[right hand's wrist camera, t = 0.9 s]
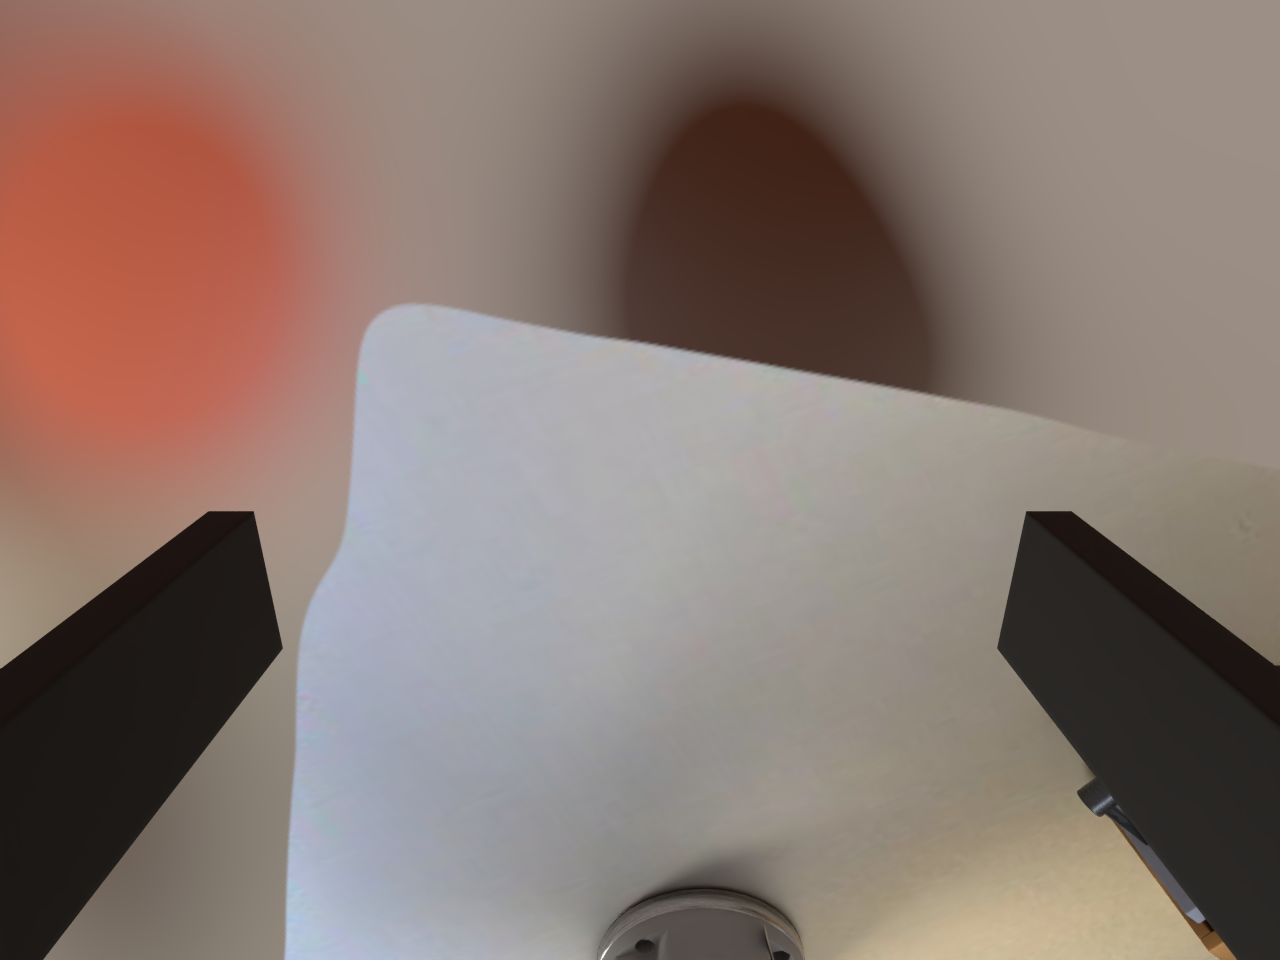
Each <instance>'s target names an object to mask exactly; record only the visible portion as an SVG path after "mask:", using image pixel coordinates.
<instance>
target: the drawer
mask: <svg viewBox="0 0 1280 960" xmlns="http://www.w3.org/2000/svg"><path fill="white" fill-rule="evenodd" d="M1077 794H1078V796H1079V797H1080V799H1081V800H1082V801H1083V803H1084V804H1085V805H1086V806H1087V807H1088V808H1089V809H1090V810H1091V811H1092V812H1093V813H1094V814H1096V815H1097V816H1099V817H1101V816H1103V815H1104V814H1105V815H1107V816H1108V817H1109V818H1111V819H1112V820H1113V821H1115V822H1116V823H1117V824H1119V825H1120V827H1121V828H1122V829H1123V831H1124V832H1125V833H1126V835H1127V836H1128V837H1129V839H1130V840H1131V841H1132V843H1133V844H1134V845H1135V847H1136V848H1137V850H1138V851H1139V852H1140V854H1141V855H1142V856H1143V858H1144V859H1145V860H1146V862H1147V863H1148V864H1149V866H1150V867H1151V868H1152V870H1153V871H1154V872H1155V874H1156V875H1157V876H1158V878H1159V879H1160V881H1161V882H1162V883H1163V885H1164V886H1165V887H1166V889H1167V890H1168V891H1169V893H1170V894H1171V895H1172V897H1173V898H1174V899H1175V901H1176V902H1177V903H1178V905H1179V906H1180V908H1181V909H1182V910H1183V912H1184V913H1185V914H1186V915H1187V916H1189V917H1190V918H1191V919H1193V920H1194V921H1196V922H1197V923H1201V922H1202V921H1204V920H1205V918H1204V916H1203V915H1202V914H1201V912H1200V911H1199V910H1198V908H1197V907H1196V906H1195V905H1194V903H1193V902H1192V901H1191V899H1190V898H1189V897H1188V895H1187V894H1186V893H1185V892H1184V890H1183V889H1182V888H1181V886H1180V885H1179V884H1178V882H1177V881H1176V880H1175V879H1174V877H1173V876H1172V875H1171V873H1170V872H1169V871H1168V869H1167V868H1166V867H1165V866H1164V864H1163V863H1162V862H1161V860H1160V859H1159V858H1158V857H1157V855H1156V854H1155V853H1154V851H1153V850H1152V849H1151V847H1150V846H1149V845H1148V844H1147V842H1146V841H1145V840H1144V838H1143V837H1142V836H1141V834H1140V833H1139V832H1138V831H1137V829H1136V828H1135V827H1134V825H1133V824H1132V823H1131V821H1130V820H1129V819H1128V818H1127V816H1126V815H1125V814H1124V812H1123V811H1122V810H1121V808H1120V807H1119V806H1118V805H1117V803H1116V802H1115V801H1114V799H1113V798H1112V797H1111V795H1110V794H1109V793H1108V792H1107V790H1106V789H1105V788H1104V786H1103V785H1102V784H1101V782H1100V781H1099V780H1098V779H1097V777H1095V778H1094V779H1093V780H1091V781H1090V782H1089V783H1087V784H1086V785H1085V786H1083V787H1082V788H1081V789H1079V790H1078V791H1077Z"/></svg>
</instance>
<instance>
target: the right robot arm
mask: <svg viewBox="0 0 1280 960" xmlns="http://www.w3.org/2000/svg"><path fill="white" fill-rule="evenodd" d="M282 649H283V647H282V643H281V638H280V633H279V628H278V624H277V619H276V614H275V610H274V605H273V600H272V596H271V591H270V586H269V581H268V577H267V572H266V567H265V562H264V558H263V553H262V548H261V544H260V539H259V534H258V530H257V525H256V520H255V516H254V512H253V511H209V512H207V513H206V514H205V515H203V516H202V517H200V518H199V519H198V520H197V521H195V522H194V523H193V524H191V525H190V526H189V527H187V528H186V529H185V530H183V531H182V532H181V533H179V534H178V535H177V536H176V537H174V538H173V539H171V540H170V541H169V542H168V543H166V544H165V545H164V546H162V547H161V548H160V549H158V550H157V551H156V552H154V553H153V554H152V555H150V556H149V557H148V558H146V559H145V560H144V561H142V562H141V563H140V564H138V565H137V566H136V567H135V568H133V569H132V570H131V571H129V572H128V573H127V574H125V575H124V576H123V577H121V578H120V579H119V580H117V581H116V582H115V583H113V584H112V585H111V586H109V587H108V588H107V589H105V590H104V591H103V592H102V593H100V594H99V595H98V596H96V597H95V598H94V599H92V600H91V601H90V602H88V603H87V604H86V605H84V606H83V607H82V608H80V609H79V610H78V611H76V612H75V613H74V614H72V615H71V616H70V617H69V618H67V619H66V620H65V621H63V622H62V623H61V624H59V625H58V626H57V627H55V628H54V629H53V630H51V631H50V632H49V633H47V634H46V635H45V636H43V637H42V638H41V639H40V640H38V641H37V642H36V643H34V644H33V645H32V646H30V647H29V648H28V649H26V650H25V651H24V652H22V653H21V654H20V655H18V656H17V657H16V658H14V659H13V660H12V661H11V662H9V663H8V664H7V665H5V666H4V667H3V668H1V669H0V960H43V959H44V958H45V957H46V955H47V954H48V953H49V951H50V950H51V949H52V947H53V946H54V945H55V944H56V942H57V941H58V940H59V938H60V937H61V936H62V934H63V933H64V932H65V930H66V929H67V928H68V927H69V925H70V924H71V923H72V921H73V920H74V919H75V917H76V916H77V915H78V914H79V912H80V911H81V910H82V908H83V907H84V906H85V905H86V903H87V902H88V901H89V899H90V898H91V897H92V895H93V894H94V893H95V892H96V890H97V889H98V888H99V886H100V885H101V884H102V882H103V881H104V880H105V879H106V877H107V876H108V875H109V873H110V872H111V871H112V869H113V868H114V867H115V866H116V864H117V863H118V862H119V860H120V859H121V858H122V857H123V855H124V854H125V853H126V851H127V850H128V849H129V847H130V846H131V845H132V843H133V842H134V841H135V840H136V838H137V837H138V836H139V834H140V833H141V832H142V831H143V829H144V828H145V827H146V825H147V824H148V823H149V821H150V820H151V819H152V818H153V816H154V815H155V814H156V812H157V811H158V810H159V808H160V807H161V806H162V804H163V803H164V802H165V801H166V799H167V798H168V797H169V795H170V794H171V793H172V792H173V790H174V789H175V788H176V786H177V785H178V784H179V782H180V781H181V780H182V779H183V777H184V776H185V775H186V773H187V772H188V771H189V769H190V768H191V767H192V766H193V764H194V763H195V762H196V760H197V759H198V758H199V756H200V755H201V754H202V753H203V751H204V750H205V749H206V747H207V746H208V745H209V743H210V742H211V741H212V740H213V738H214V737H215V736H216V734H217V733H218V732H219V730H220V729H221V728H222V727H223V725H224V724H225V723H226V721H227V720H228V719H229V718H230V716H231V715H232V714H233V712H234V711H235V710H236V708H237V707H238V706H239V705H240V703H241V702H242V701H243V699H244V698H245V697H246V695H247V694H248V693H249V692H250V690H251V689H252V688H253V686H254V685H255V684H256V682H257V681H258V680H259V679H260V677H261V676H262V675H263V673H264V672H265V671H266V670H267V668H268V667H269V666H270V664H271V663H272V662H273V660H274V659H275V658H276V657H277V655H278V654H279V653H280V651H281V650H282ZM997 649H998V650H999V651H1000V653H1001V654H1002V655H1003V657H1004V658H1005V659H1006V660H1007V662H1008V663H1009V664H1010V666H1011V667H1012V668H1013V670H1014V671H1015V672H1016V673H1017V675H1018V676H1019V677H1020V679H1021V680H1022V681H1023V682H1024V684H1025V685H1026V686H1027V688H1028V689H1029V690H1030V692H1031V693H1032V694H1033V695H1034V697H1035V698H1036V699H1037V701H1038V702H1039V703H1040V705H1041V706H1042V707H1043V708H1044V710H1045V711H1046V712H1047V714H1048V715H1049V716H1050V718H1051V719H1052V720H1053V721H1054V723H1055V724H1056V725H1057V727H1058V728H1059V729H1060V731H1061V732H1062V733H1063V734H1064V736H1065V737H1066V738H1067V740H1068V741H1069V742H1070V744H1071V745H1072V746H1073V747H1074V749H1075V750H1076V751H1077V753H1078V754H1079V755H1080V757H1081V758H1082V759H1083V760H1084V762H1085V763H1086V764H1087V766H1088V767H1089V768H1090V769H1091V771H1092V772H1093V773H1094V775H1095V776H1096V777H1097V779H1098V780H1099V781H1100V782H1101V784H1102V785H1103V786H1104V788H1105V789H1106V790H1107V792H1108V793H1109V794H1110V795H1111V797H1112V798H1113V799H1114V801H1115V802H1116V803H1117V805H1118V806H1119V807H1120V808H1121V810H1122V811H1123V812H1124V814H1125V815H1126V816H1127V818H1128V819H1129V820H1130V821H1131V823H1132V824H1133V825H1134V827H1135V828H1136V829H1137V831H1138V832H1139V833H1140V834H1141V836H1142V837H1143V838H1144V840H1145V841H1146V842H1147V844H1148V845H1149V846H1150V847H1151V849H1152V850H1153V851H1154V853H1155V854H1156V855H1157V857H1158V858H1159V859H1160V860H1161V862H1162V863H1163V864H1164V866H1165V867H1166V868H1167V869H1168V871H1169V872H1170V873H1171V875H1172V876H1173V877H1174V879H1175V880H1176V881H1177V882H1178V884H1179V885H1180V886H1181V888H1182V889H1183V890H1184V892H1185V893H1186V894H1187V895H1188V897H1189V898H1190V899H1191V901H1192V902H1193V903H1194V905H1195V906H1196V907H1197V908H1198V910H1199V911H1200V912H1201V914H1202V915H1203V916H1204V918H1205V919H1206V920H1207V921H1208V923H1209V924H1210V925H1211V927H1212V928H1213V929H1214V931H1215V932H1216V933H1217V934H1218V936H1219V937H1220V938H1221V940H1222V941H1223V942H1224V944H1225V945H1226V946H1227V947H1228V949H1229V950H1230V951H1231V953H1232V954H1233V955H1234V957H1235V958H1236V959H1237V960H1280V666H1275V665H1273V664H1272V663H1271V662H1270V661H1268V660H1267V659H1266V658H1264V657H1263V656H1262V655H1260V654H1259V653H1258V652H1256V651H1255V650H1254V649H1252V648H1251V647H1250V646H1248V645H1247V644H1246V643H1244V642H1243V641H1242V640H1240V639H1239V638H1238V637H1237V636H1235V635H1234V634H1233V633H1231V632H1230V631H1229V630H1227V629H1226V628H1225V627H1223V626H1222V625H1221V624H1219V623H1218V622H1217V621H1215V620H1214V619H1213V618H1211V617H1210V616H1209V615H1208V614H1206V613H1205V612H1204V611H1202V610H1201V609H1200V608H1198V607H1197V606H1196V605H1194V604H1193V603H1192V602H1190V601H1189V600H1188V599H1186V598H1185V597H1184V596H1182V595H1181V594H1180V593H1178V592H1177V591H1176V590H1175V589H1173V588H1172V587H1171V586H1169V585H1168V584H1167V583H1165V582H1164V581H1163V580H1161V579H1160V578H1159V577H1157V576H1156V575H1155V574H1153V573H1152V572H1151V571H1149V570H1148V569H1147V568H1145V567H1144V566H1143V565H1142V564H1140V563H1139V562H1138V561H1136V560H1135V559H1134V558H1132V557H1131V556H1130V555H1128V554H1127V553H1126V552H1124V551H1123V550H1122V549H1120V548H1119V547H1118V546H1116V545H1115V544H1114V543H1112V542H1111V541H1110V540H1109V539H1107V538H1106V537H1105V536H1103V535H1102V534H1101V533H1099V532H1098V531H1097V530H1095V529H1094V528H1093V527H1091V526H1090V525H1089V524H1087V523H1086V522H1085V521H1083V520H1082V519H1081V518H1080V517H1078V516H1077V515H1076V514H1074V513H1073V512H1072V511H1026V515H1025V520H1024V525H1023V530H1022V534H1021V539H1020V544H1019V548H1018V553H1017V558H1016V562H1015V567H1014V572H1013V577H1012V581H1011V586H1010V591H1009V595H1008V600H1007V605H1006V610H1005V614H1004V619H1003V624H1002V628H1001V633H1000V638H999V642H998V647H997ZM597 960H805V958H804V954H803V949H802V944H801V941H800V939H799V936H798V934H797V932H796V930H795V929H794V928H793V926H792V925H791V923H790V922H789V921H788V920H787V919H786V918H785V917H784V916H783V915H782V914H780V913H779V912H778V911H776V910H775V909H774V908H772V907H771V906H769V905H767V904H765V903H764V902H761V901H759V900H757V899H755V898H752V897H749V896H747V895H743V894H740V893H736V892H731V891H725V890H717V889H690V890H681V891H675V892H671V893H666V894H663V895H659V896H656V897H653V898H651V899H648V900H646V901H644V902H642V903H640V904H638V905H636V906H634V907H633V908H631V909H629V910H628V911H627V912H625V913H624V914H623V915H621V916H620V917H619V918H618V919H617V920H616V921H615V922H614V923H613V924H612V925H611V926H610V928H609V929H608V930H607V932H606V933H605V935H604V937H603V939H602V941H601V944H600V946H599V950H598V956H597Z"/></svg>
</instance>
